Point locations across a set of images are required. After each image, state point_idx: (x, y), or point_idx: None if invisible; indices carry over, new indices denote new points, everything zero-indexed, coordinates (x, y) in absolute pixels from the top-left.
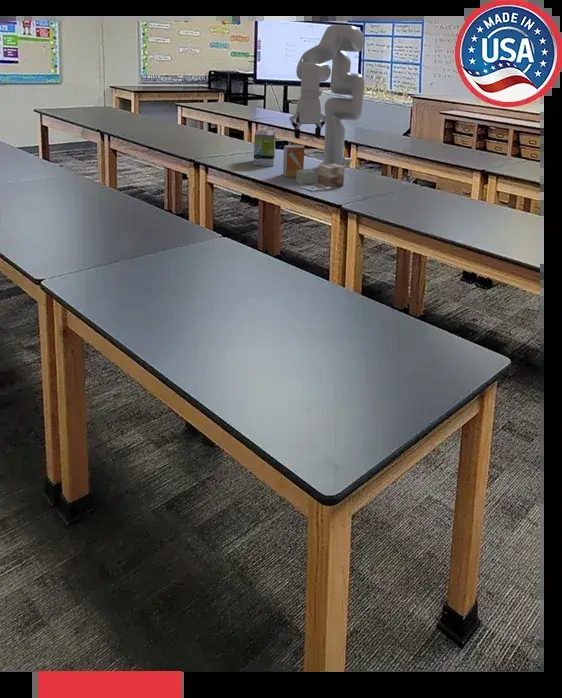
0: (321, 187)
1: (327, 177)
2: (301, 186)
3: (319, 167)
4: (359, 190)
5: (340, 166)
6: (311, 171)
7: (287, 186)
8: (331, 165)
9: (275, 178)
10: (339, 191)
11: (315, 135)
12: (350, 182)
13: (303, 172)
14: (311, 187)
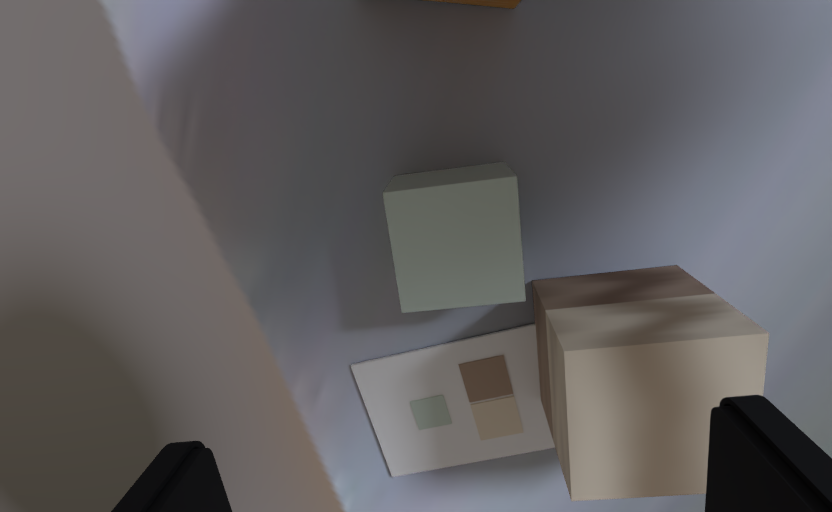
0: (489, 418)
1: (553, 441)
2: (369, 362)
3: (558, 349)
4: (703, 505)
5: None
6: (495, 283)
7: (280, 328)
8: (668, 411)
9: (248, 39)
10: (563, 502)
11: (733, 451)
12: (805, 293)
13: (405, 311)
14: (423, 405)
